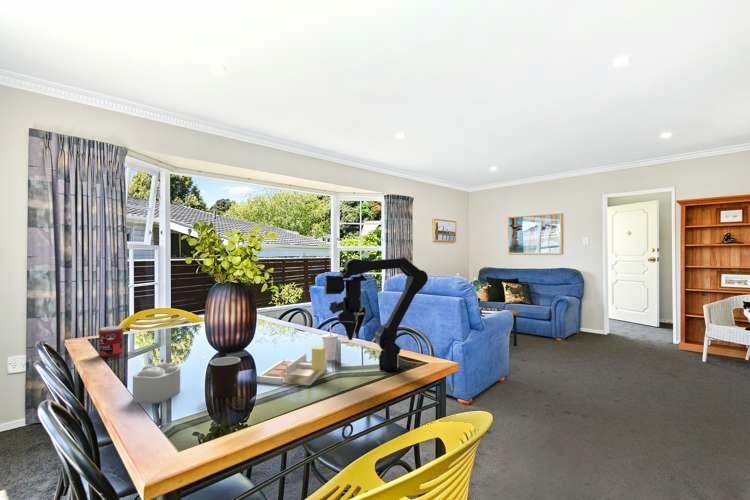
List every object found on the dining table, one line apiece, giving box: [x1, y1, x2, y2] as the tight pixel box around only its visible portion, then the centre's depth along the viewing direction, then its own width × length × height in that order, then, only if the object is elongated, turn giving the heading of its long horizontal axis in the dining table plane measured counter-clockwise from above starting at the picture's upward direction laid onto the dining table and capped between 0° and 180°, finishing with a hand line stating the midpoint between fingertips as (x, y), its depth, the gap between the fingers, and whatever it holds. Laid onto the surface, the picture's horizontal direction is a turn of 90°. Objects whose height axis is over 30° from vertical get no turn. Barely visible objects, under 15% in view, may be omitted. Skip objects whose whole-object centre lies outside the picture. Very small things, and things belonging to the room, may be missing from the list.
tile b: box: [275, 365, 286, 374], centre depth 128 cm, size 4×4×2 cm
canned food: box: [98, 325, 124, 358], centre depth 150 cm, size 8×8×11 cm
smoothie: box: [321, 323, 339, 362], centre depth 145 cm, size 6×6×14 cm
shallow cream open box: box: [283, 359, 328, 386], centre depth 126 cm, size 9×16×3 cm, turn 168°
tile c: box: [267, 370, 284, 377], centre depth 122 cm, size 4×4×2 cm
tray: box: [256, 359, 295, 386], centre depth 128 cm, size 9×19×2 cm, turn 168°
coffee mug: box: [209, 356, 241, 399], centre depth 111 cm, size 12×9×10 cm
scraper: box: [286, 345, 326, 374], centre depth 126 cm, size 10×15×7 cm
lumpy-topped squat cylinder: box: [132, 362, 181, 404], centre depth 109 cm, size 10×13×9 cm
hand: (353, 336), depth 131 cm, fingers open, 9 cm apart
